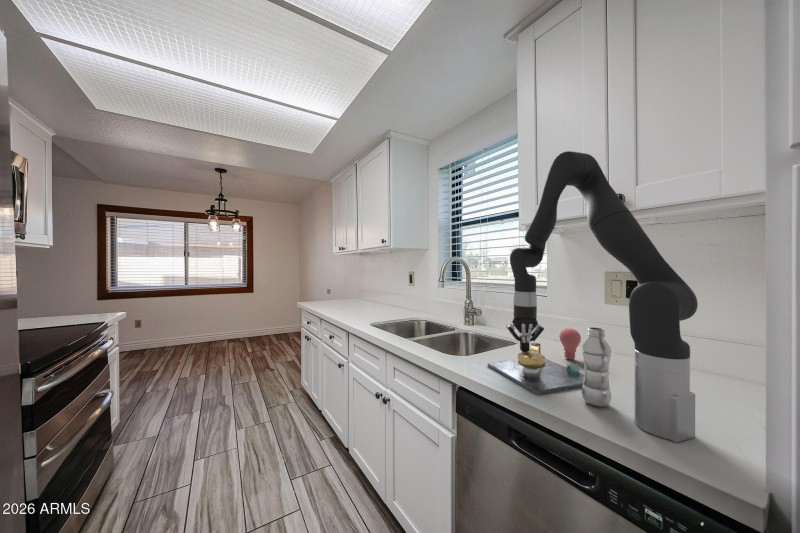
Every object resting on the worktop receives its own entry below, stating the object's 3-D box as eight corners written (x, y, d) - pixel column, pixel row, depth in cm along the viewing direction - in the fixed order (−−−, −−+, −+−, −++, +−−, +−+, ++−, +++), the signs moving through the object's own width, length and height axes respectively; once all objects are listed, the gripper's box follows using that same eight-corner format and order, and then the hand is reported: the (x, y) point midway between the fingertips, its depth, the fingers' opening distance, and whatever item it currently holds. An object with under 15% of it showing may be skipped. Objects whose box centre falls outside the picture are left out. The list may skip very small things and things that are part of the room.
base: (597, 384, 89) (597, 367, 89) (537, 395, 82) (537, 377, 82) (538, 359, 112) (538, 346, 111) (487, 366, 105) (487, 352, 105)
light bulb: (575, 356, 114) (575, 326, 114) (584, 362, 107) (584, 330, 107) (556, 356, 115) (556, 326, 115) (564, 362, 108) (564, 330, 108)
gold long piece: (544, 379, 87) (544, 361, 87) (515, 374, 91) (515, 356, 91) (548, 359, 104) (548, 344, 104) (524, 355, 108) (524, 341, 108)
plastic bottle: (575, 400, 78) (575, 327, 78) (593, 396, 81) (593, 325, 80) (599, 412, 72) (599, 332, 72) (617, 407, 75) (617, 330, 74)
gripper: (509, 305, 99) (509, 355, 99) (549, 305, 98) (548, 356, 99) (502, 302, 106) (502, 348, 107) (539, 302, 106) (538, 349, 106)
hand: (524, 352), depth 103 cm, fingers closed
